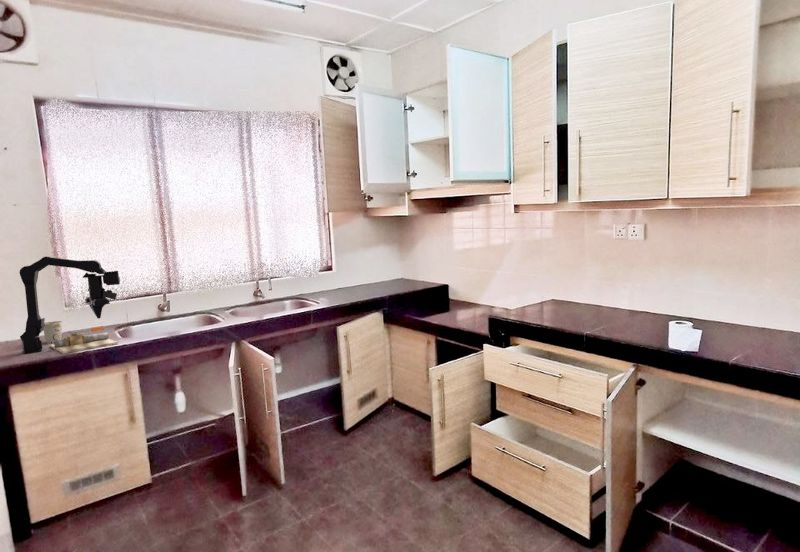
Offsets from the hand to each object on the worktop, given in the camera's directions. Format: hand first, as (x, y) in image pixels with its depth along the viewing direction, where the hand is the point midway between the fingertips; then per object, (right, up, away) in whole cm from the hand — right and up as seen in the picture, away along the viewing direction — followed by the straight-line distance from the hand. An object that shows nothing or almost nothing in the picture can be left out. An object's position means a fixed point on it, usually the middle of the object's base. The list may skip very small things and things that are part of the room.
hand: (98, 318), depth 234 cm
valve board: (-6, -13, -1) cm, 15 cm away
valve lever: (-6, -7, +1) cm, 9 cm away
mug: (-31, -13, +12) cm, 36 cm away
